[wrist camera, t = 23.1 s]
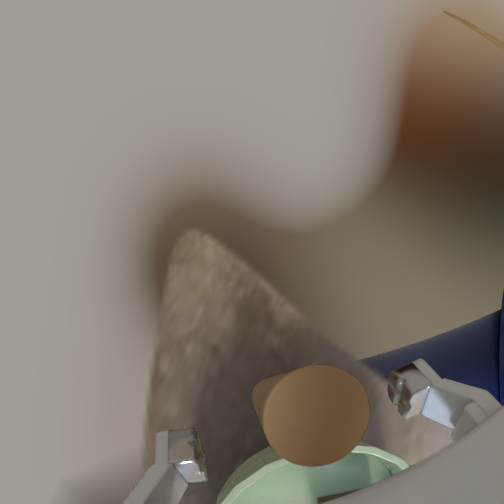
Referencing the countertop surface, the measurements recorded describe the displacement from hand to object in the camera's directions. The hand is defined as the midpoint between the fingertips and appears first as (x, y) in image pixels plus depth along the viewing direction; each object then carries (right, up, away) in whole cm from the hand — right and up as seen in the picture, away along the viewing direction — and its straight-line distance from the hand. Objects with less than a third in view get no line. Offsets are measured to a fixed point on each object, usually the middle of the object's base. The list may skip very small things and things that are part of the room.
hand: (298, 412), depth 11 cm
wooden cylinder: (-1, -3, +8) cm, 9 cm away
